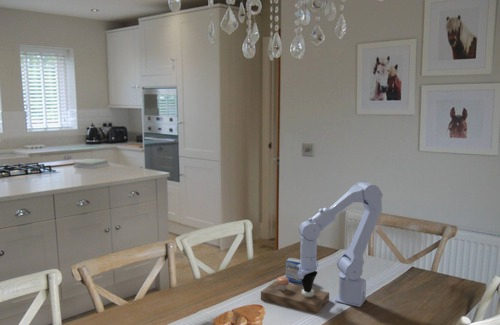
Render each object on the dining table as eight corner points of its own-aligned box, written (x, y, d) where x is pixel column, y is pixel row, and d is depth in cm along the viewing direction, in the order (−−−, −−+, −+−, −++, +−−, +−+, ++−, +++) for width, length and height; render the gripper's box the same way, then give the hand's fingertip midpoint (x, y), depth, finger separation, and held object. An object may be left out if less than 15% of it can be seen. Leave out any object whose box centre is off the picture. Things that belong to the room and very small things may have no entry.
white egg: (315, 300, 159) (315, 290, 158) (310, 305, 155) (311, 294, 154) (304, 298, 161) (304, 287, 160) (299, 302, 157) (299, 292, 157)
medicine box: (285, 280, 178) (285, 260, 177) (289, 276, 182) (289, 256, 181) (303, 284, 175) (303, 263, 174) (307, 280, 179) (307, 260, 178)
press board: (329, 300, 160) (329, 292, 160) (317, 313, 150) (317, 305, 150) (275, 287, 171) (275, 280, 171) (260, 299, 161) (260, 291, 160)
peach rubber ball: (290, 288, 163) (290, 278, 163) (285, 292, 160) (285, 282, 159) (280, 286, 166) (280, 275, 165) (274, 290, 162) (274, 279, 161)
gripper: (305, 247, 164) (305, 282, 166) (289, 259, 152) (289, 296, 153) (323, 250, 160) (322, 286, 162) (308, 262, 148) (307, 300, 150)
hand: (307, 291), depth 157 cm, fingers closed, pressing on white egg
